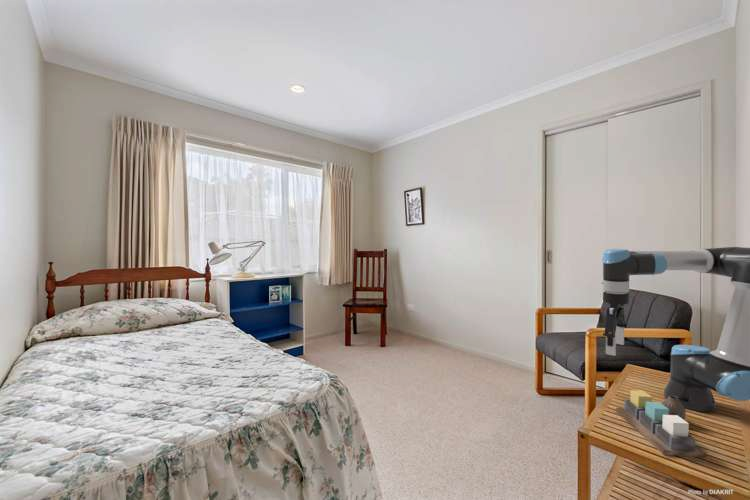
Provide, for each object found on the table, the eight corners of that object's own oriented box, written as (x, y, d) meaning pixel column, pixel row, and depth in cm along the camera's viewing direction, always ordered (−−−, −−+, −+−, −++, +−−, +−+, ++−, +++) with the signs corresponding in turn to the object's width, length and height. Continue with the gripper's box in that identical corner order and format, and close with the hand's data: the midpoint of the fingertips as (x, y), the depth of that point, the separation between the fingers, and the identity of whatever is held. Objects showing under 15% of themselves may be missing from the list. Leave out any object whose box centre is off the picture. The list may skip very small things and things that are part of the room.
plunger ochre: (642, 403, 121) (643, 390, 121) (651, 409, 117) (651, 396, 117) (630, 402, 122) (630, 390, 122) (638, 409, 118) (638, 396, 117)
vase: (687, 428, 114) (689, 404, 113) (662, 422, 117) (663, 399, 117) (682, 418, 120) (683, 395, 119) (658, 412, 123) (659, 390, 123)
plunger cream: (676, 429, 106) (677, 415, 105) (688, 438, 101) (688, 423, 101) (662, 428, 106) (662, 414, 106) (672, 437, 102) (673, 422, 101)
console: (649, 412, 123) (650, 399, 123) (705, 457, 99) (706, 440, 99) (616, 411, 125) (616, 397, 124) (663, 454, 101) (663, 438, 100)
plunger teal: (658, 415, 114) (659, 402, 113) (668, 423, 109) (668, 409, 109) (645, 414, 114) (645, 401, 114) (654, 422, 110) (654, 408, 109)
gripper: (611, 285, 126) (610, 337, 128) (593, 296, 110) (593, 356, 111) (635, 287, 121) (634, 342, 122) (620, 299, 104) (620, 362, 106)
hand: (615, 349), depth 117 cm, fingers open, 13 cm apart
